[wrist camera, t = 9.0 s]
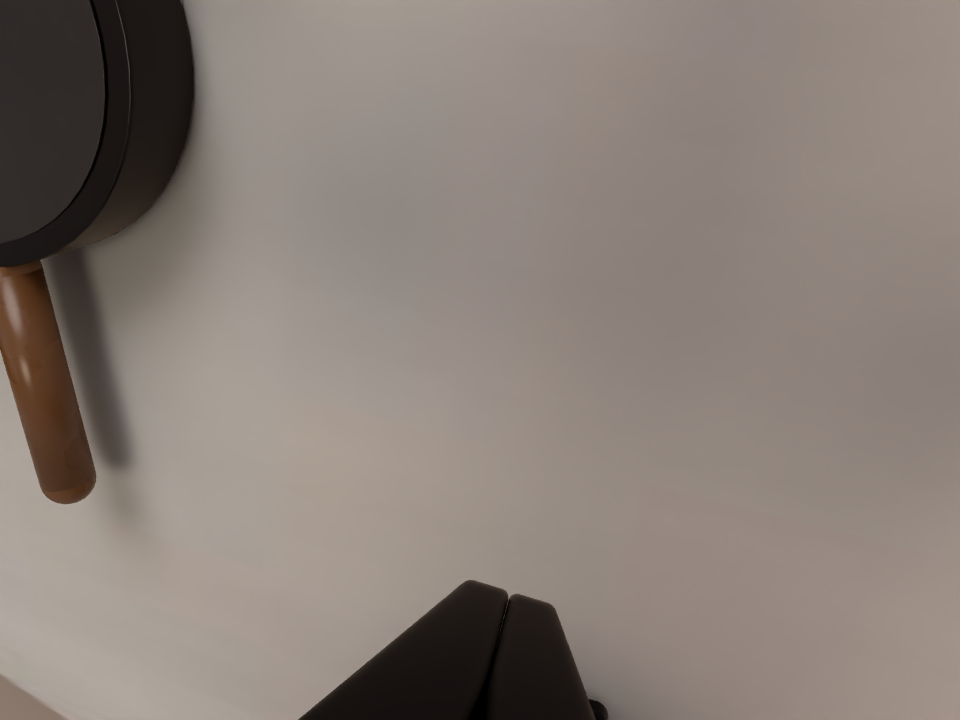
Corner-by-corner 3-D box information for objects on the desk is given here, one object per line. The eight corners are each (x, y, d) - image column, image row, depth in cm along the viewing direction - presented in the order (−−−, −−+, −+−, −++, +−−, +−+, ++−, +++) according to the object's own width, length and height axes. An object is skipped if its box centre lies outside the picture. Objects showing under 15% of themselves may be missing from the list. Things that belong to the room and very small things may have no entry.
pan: (265, 480, 22) (220, 527, 20) (-23, 459, 24) (-92, 500, 22) (147, -219, 16) (64, -265, 14) (-223, -166, 18) (-349, -199, 16)
